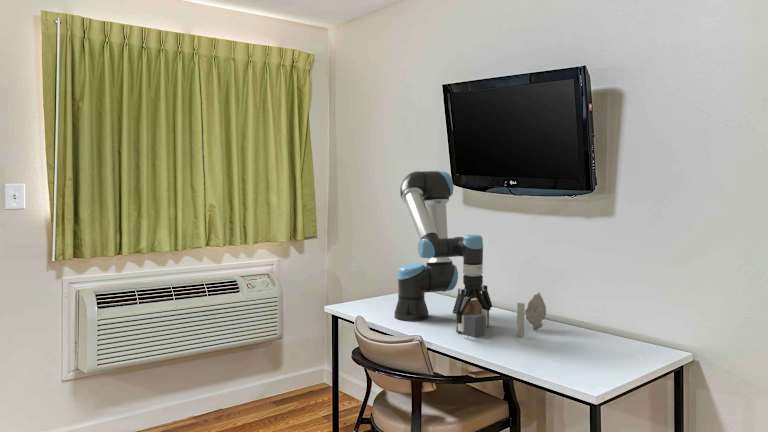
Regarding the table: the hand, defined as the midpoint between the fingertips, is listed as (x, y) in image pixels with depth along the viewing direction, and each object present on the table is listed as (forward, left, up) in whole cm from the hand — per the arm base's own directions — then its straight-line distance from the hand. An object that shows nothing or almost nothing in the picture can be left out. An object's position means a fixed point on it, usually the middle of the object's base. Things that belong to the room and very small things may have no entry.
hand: (472, 328), depth 233 cm
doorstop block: (0, 0, -3) cm, 3 cm away
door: (-6, +4, -2) cm, 7 cm away
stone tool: (+11, +25, -3) cm, 27 cm away
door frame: (+2, +13, -2) cm, 13 cm away
